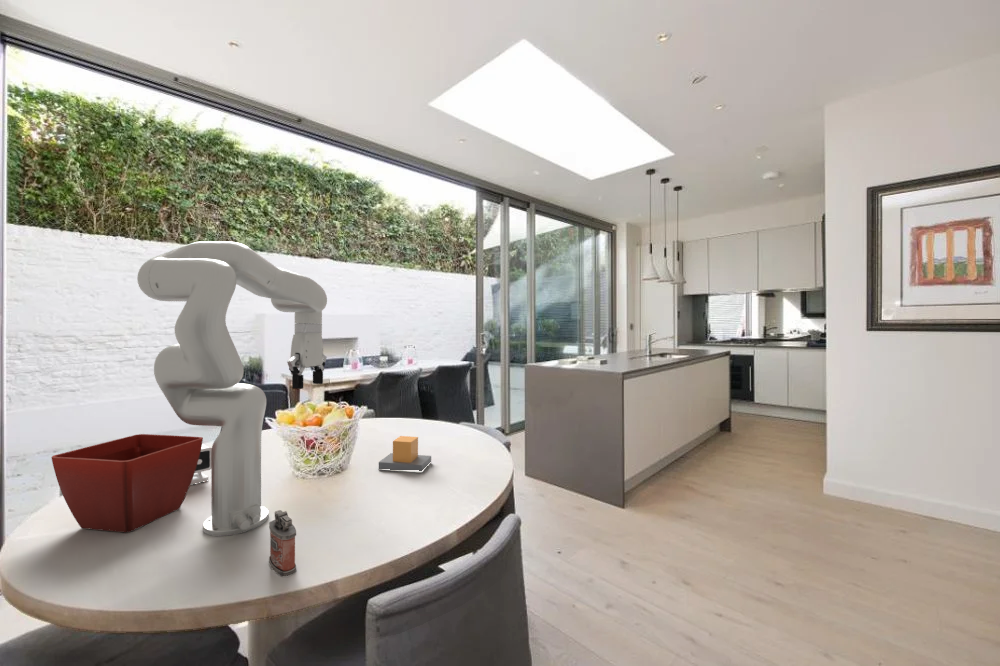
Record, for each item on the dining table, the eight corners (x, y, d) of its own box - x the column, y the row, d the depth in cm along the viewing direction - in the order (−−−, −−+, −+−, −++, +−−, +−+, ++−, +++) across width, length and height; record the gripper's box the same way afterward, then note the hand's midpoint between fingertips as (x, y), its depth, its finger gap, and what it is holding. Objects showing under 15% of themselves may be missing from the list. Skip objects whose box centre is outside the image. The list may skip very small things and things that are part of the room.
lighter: (265, 561, 79) (265, 509, 79) (283, 554, 81) (284, 504, 81) (280, 579, 73) (280, 524, 73) (300, 571, 76) (300, 517, 76)
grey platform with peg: (431, 463, 135) (431, 440, 134) (421, 473, 126) (421, 448, 126) (390, 460, 137) (391, 438, 137) (378, 470, 128) (378, 446, 128)
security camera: (185, 489, 112) (185, 452, 112) (177, 482, 116) (177, 447, 116) (212, 482, 117) (212, 447, 117) (203, 476, 121) (203, 442, 121)
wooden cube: (417, 456, 134) (418, 437, 134) (410, 462, 128) (411, 442, 128) (400, 455, 135) (400, 435, 135) (392, 461, 129) (392, 441, 129)
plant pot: (139, 497, 106) (139, 432, 106) (205, 503, 103) (205, 436, 103) (48, 535, 87) (47, 456, 87) (126, 543, 84) (126, 461, 84)
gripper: (314, 329, 134) (314, 381, 134) (277, 329, 117) (277, 390, 117) (335, 329, 132) (335, 382, 133) (301, 330, 115) (301, 391, 116)
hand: (308, 386), depth 125 cm, fingers open, 9 cm apart
